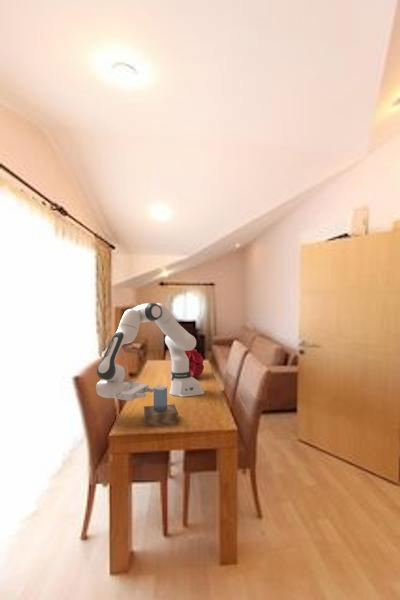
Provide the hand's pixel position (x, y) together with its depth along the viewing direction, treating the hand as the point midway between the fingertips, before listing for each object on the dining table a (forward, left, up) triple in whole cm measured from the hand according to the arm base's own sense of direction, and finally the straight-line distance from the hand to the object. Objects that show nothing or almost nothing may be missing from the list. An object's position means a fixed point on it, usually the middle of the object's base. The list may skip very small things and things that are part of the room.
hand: (149, 393), depth 184 cm
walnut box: (-6, +3, -14) cm, 15 cm away
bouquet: (-37, -85, -14) cm, 94 cm away
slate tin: (-6, +3, -8) cm, 10 cm away
